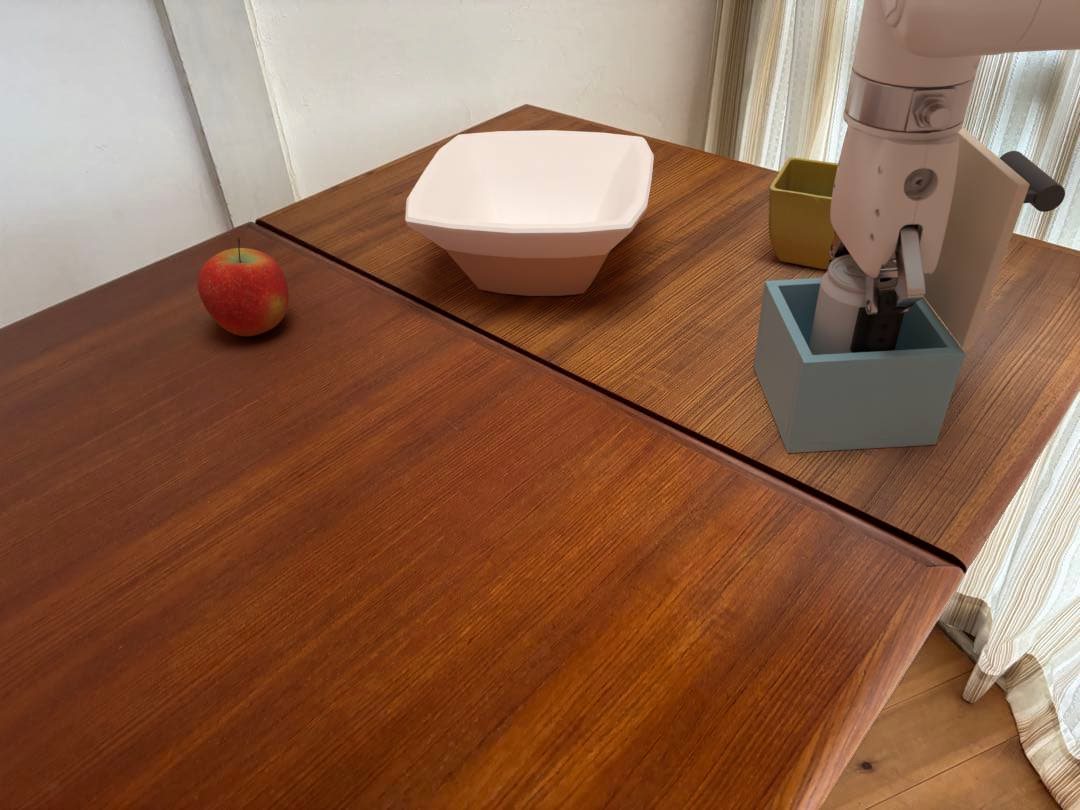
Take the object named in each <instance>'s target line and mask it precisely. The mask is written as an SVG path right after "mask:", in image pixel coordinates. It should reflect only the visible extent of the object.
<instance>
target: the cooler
mask: <svg viewBox="0 0 1080 810" xmlns="http://www.w3.org/2000/svg"><path fill="white" fill-rule="evenodd" d="M821 279H822V277H809V278H795V279H794V278H793V279H791V278H790V279H774V280H773V279H772V280H765V281H764V286H763V292H762V300H761V307H760V314H759V321H758V329H757V336H756V343H755V351H754V358H753V365H752V367H753V370H754V372H755V374H756V377H757V379H758V382H759V385H760V388H761V390H762V392H763V395H764V397H765V400H766V402H767V405H768V407H769V410H770V412H771V415H772V417H773V420H774V422H775V425H776V428H777V430H778V433H779V435H780V438H781V440H782V443H783V446H784V448H785V450H786V453H787V454H797V453H817V452H818V453H819V452H832V451H833V452H834V451H850V450H851V451H852V450H868V449H886V448H902V447H905V448H906V447H921V446H922V447H923V446H936V444H937V442H938V438H939V436H940V433H941V429H942V427H943V424H944V420H945V418H946V414H947V411H948V408H949V405H950V402H951V399H952V395H953V392H954V390H955V386H956V383H957V381H958V377H959V374H960V371H961V368H962V365H963V362H964V359H965V355H966V352H965V351H964V350H963V348H962V347H961V346H960V344H959V343H958V342H957V340H956V339H955V338H954V336H953V335H952V334H951V332H950V331H949V330H948V328H947V327H946V326H945V324H944V323H943V322H942V320H941V319H940V318H939V316H938V315H937V314H936V312H935V311H934V310H933V308H932V307H931V305H930V304H929V303H928V301H927V300H926V299H925V297H923V298H922V299H920V300H919V301H917V302H916V303H914V305H913V306H912V307H910V308H909V311H908V312H907V313H904V317H903V321H902V324H901V328H900V332H899V336H898V340H897V344H896V348H895V350H894V351H876V352H859V353H841V354H824V355H812V353H811V351H810V349H809V344H810V339H811V333H812V327H813V322H814V316H815V311H816V305H817V299H818V294H819V288H820V283H821Z"/></svg>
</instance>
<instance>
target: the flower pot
mask: <svg viewBox="0 0 1080 810" xmlns="http://www.w3.org/2000/svg"><path fill="white" fill-rule="evenodd" d="M838 163H839V162H829V161H823V160H815V159H808V158H803V157H802V158H801V157H791V156H790V157H788V158H787V159H786V160H785V161H784V163H783V166H782V167H781V169H780V170H779V172H778V173H777V175H776V176H775V178H774V180H773V181H772V183H771V184H770V186H769V195H768V236H769V240H770V243H771V246H772V250H773V252H774V253H775V255H776V257H777V258H778V260H779V261H780V262H784V263H789V264H794V265H800V266H806V267H809V268H814V269H820V270H828V265H829V260H833V259H836V258H831V256H830V245H831V243H832V240H833V238H834V236H835V231H834V228H833V226H832V223H831V219H830V208H831V200H832V193H833V187H834V182H835V177H836V172H837V167H838Z"/></svg>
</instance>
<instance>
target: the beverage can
mask: <svg viewBox="0 0 1080 810" xmlns="http://www.w3.org/2000/svg"><path fill="white" fill-rule="evenodd" d="M887 268H897V265H896V260H894V261H888V262H887V264H886V265H882V266H881V269H887ZM827 270H828V271H827ZM827 270H826V272H825V273H824V274H823V275H822V277H821V278H822V279H821V283H820V288H819V294H818V299H817V305H816V311H815V316H814V322H813V327H812V333H811V339H810V344H809V349H810V351H811V353H812V355H824V354H841V353H852V352H851V350H850V347H851V343H852V338H853V334H854V329H855V325H856V320H857V316H858V311H859V308H860V307H865V299H866V273H865V272H864V271H862V270H861V268H860V267H859V266H858V264H857V263H856V262H855V260H854V259H853V257H852V256H851V254H849V255H844V256H841V257H838V258H836V259H834V260H833V261H832V262H831V263H830V264H829V267H828V268H827ZM896 284H897V278H889V279H880V290H879V296H880V295H881V294H883V293H884V292H886V291H888V290H894V288H895V287H896Z"/></svg>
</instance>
